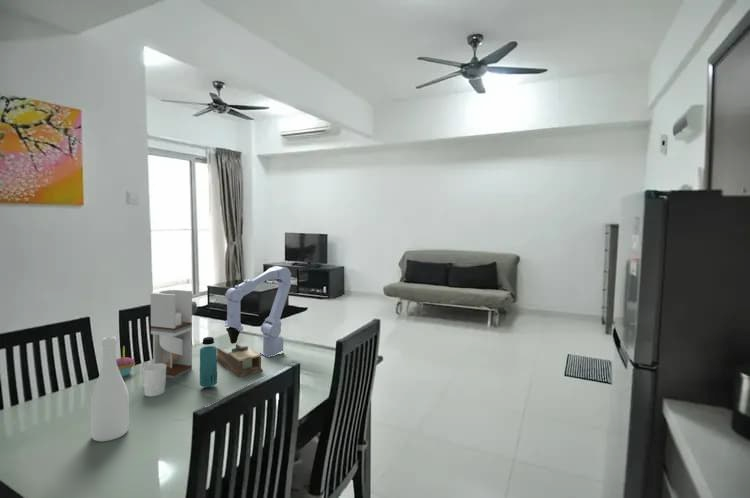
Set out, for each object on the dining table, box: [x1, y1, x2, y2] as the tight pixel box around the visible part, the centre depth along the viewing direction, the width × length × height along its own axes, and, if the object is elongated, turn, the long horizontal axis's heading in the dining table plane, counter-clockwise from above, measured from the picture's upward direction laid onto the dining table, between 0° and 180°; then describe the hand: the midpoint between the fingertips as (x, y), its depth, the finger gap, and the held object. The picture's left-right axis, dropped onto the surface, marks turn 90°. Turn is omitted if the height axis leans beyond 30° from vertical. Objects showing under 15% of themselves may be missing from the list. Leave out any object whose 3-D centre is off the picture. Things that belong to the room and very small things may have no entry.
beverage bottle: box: [199, 336, 218, 388], centre depth 153 cm, size 6×7×20 cm
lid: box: [227, 345, 262, 361], centre depth 173 cm, size 10×11×2 cm
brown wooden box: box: [216, 343, 264, 378], centre depth 178 cm, size 11×24×6 cm, turn 44°
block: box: [241, 358, 252, 370], centre depth 173 cm, size 4×4×5 cm
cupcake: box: [116, 346, 136, 377], centre depth 164 cm, size 9×8×12 cm
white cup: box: [142, 363, 167, 397], centre depth 148 cm, size 8×8×10 cm
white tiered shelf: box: [150, 288, 193, 380], centre depth 167 cm, size 11×11×35 cm
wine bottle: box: [90, 335, 130, 442], centre depth 118 cm, size 10×10×30 cm
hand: (233, 343), depth 181 cm, fingers closed
